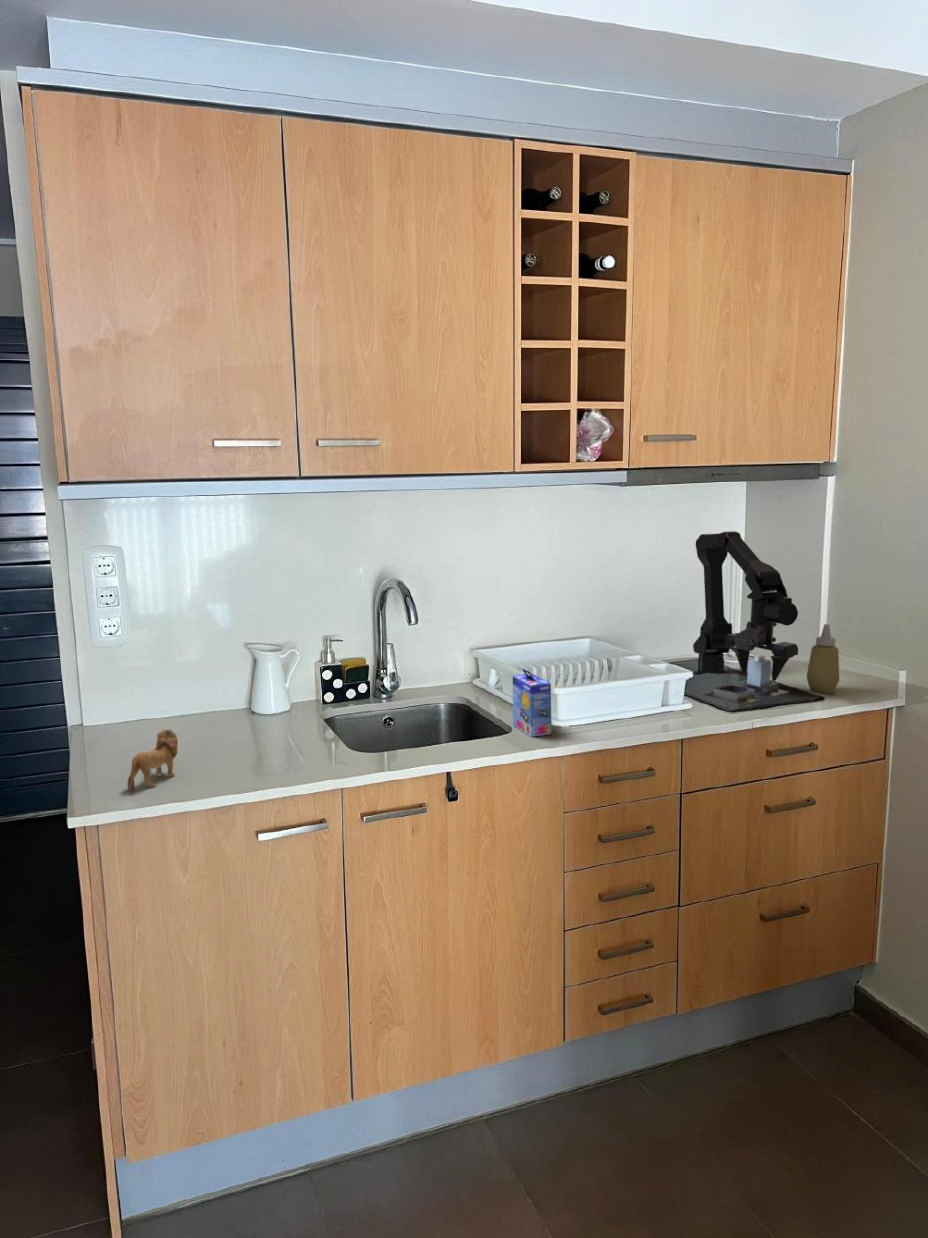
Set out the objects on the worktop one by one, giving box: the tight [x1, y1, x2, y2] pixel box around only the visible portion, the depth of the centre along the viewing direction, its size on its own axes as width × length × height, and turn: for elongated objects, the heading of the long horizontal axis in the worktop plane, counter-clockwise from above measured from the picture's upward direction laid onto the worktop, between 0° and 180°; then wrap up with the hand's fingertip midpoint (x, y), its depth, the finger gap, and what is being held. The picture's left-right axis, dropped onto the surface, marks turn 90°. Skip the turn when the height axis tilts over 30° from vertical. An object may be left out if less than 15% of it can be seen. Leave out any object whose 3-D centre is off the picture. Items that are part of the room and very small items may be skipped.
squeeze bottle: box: [806, 623, 840, 695], centre depth 246 cm, size 8×8×18 cm
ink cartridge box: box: [512, 667, 552, 738], centre depth 215 cm, size 10×6×14 cm, turn 23°
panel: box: [702, 679, 789, 706], centre depth 242 cm, size 12×20×3 cm, turn 127°
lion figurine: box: [127, 728, 179, 793], centre depth 184 cm, size 15×5×9 cm, turn 166°
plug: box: [746, 655, 772, 686], centre depth 245 cm, size 4×4×9 cm
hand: (758, 677), depth 245 cm, fingers open, 9 cm apart
